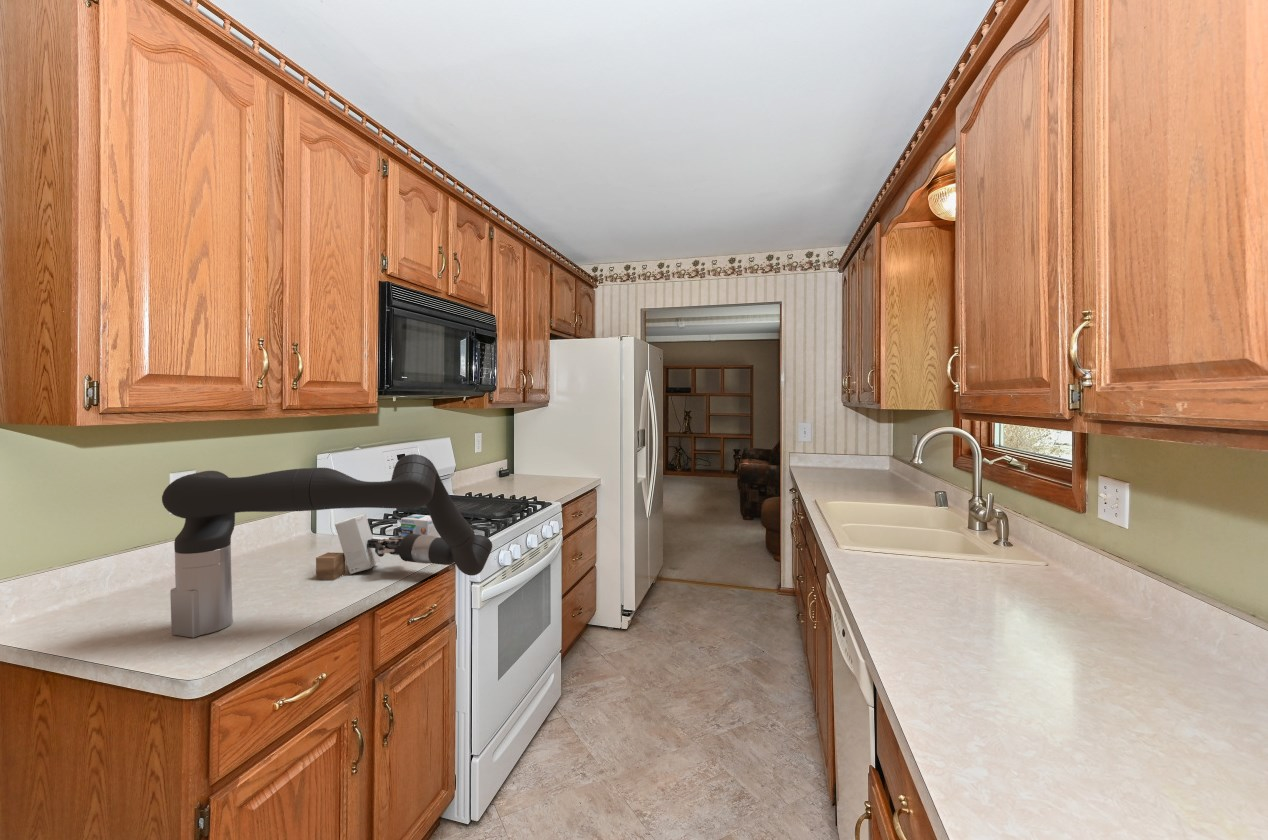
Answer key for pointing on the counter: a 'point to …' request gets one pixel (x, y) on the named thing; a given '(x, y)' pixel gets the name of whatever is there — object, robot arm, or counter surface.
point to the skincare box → (356, 543)
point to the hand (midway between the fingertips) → (369, 543)
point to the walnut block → (330, 566)
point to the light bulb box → (418, 525)
